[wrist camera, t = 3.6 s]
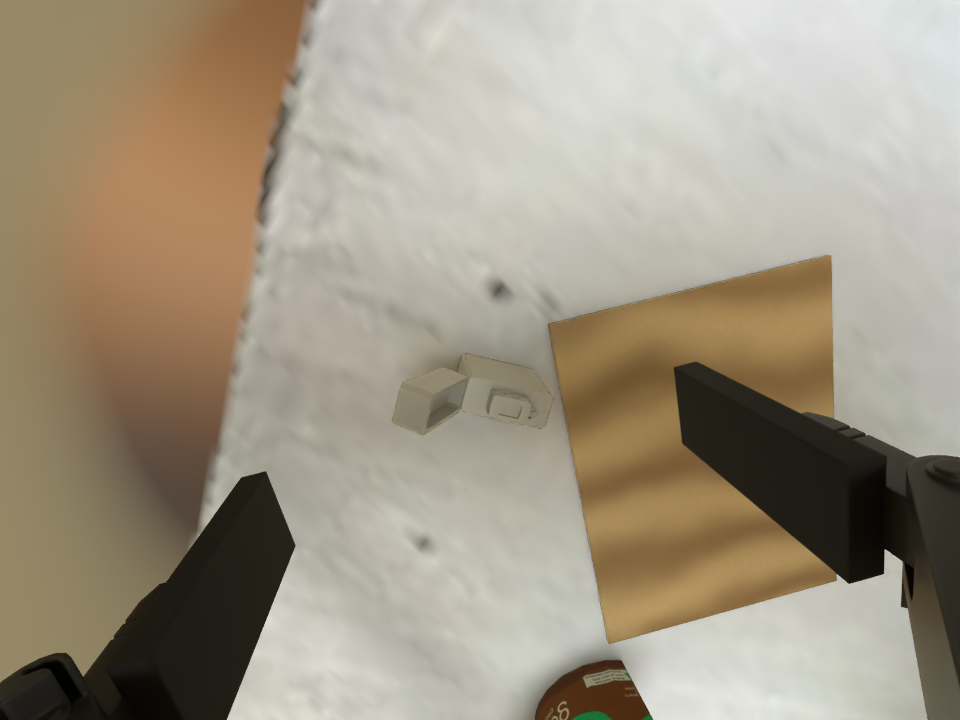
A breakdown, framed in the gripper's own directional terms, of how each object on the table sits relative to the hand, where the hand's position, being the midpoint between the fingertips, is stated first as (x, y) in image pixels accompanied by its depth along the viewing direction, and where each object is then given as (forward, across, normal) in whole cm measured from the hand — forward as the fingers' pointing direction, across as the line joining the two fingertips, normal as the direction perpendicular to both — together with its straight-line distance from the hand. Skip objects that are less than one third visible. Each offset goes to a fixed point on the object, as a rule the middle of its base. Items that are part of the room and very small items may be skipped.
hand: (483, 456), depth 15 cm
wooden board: (+11, -13, +10) cm, 20 cm away
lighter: (+11, 0, +1) cm, 11 cm away
